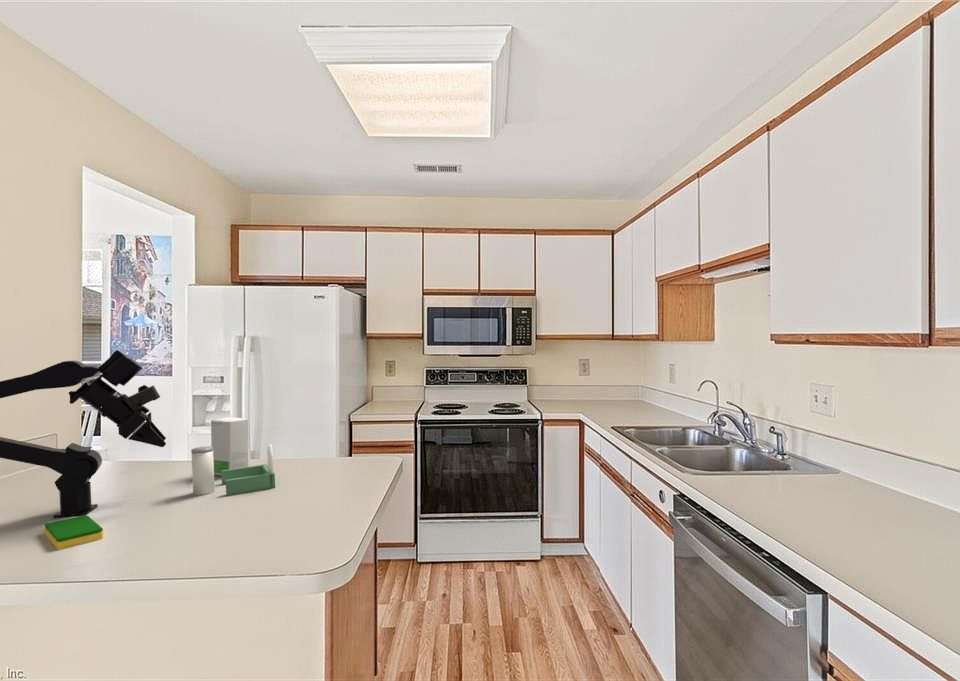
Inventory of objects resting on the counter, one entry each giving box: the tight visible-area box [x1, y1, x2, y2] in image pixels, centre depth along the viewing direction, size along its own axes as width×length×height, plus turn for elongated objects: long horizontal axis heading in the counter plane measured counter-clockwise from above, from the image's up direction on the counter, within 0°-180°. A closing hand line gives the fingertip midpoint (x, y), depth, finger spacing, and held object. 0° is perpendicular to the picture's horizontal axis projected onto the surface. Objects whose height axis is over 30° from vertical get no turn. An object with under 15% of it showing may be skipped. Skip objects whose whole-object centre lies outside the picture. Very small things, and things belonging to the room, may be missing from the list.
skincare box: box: [210, 416, 249, 476], centre depth 156 cm, size 8×7×16 cm
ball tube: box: [190, 445, 216, 496], centre depth 136 cm, size 5×5×11 cm
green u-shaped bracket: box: [221, 443, 276, 496], centre depth 142 cm, size 11×13×10 cm
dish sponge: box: [44, 514, 104, 550], centre depth 108 cm, size 7×14×2 cm, turn 46°
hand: (164, 442), depth 132 cm, fingers open, 9 cm apart
